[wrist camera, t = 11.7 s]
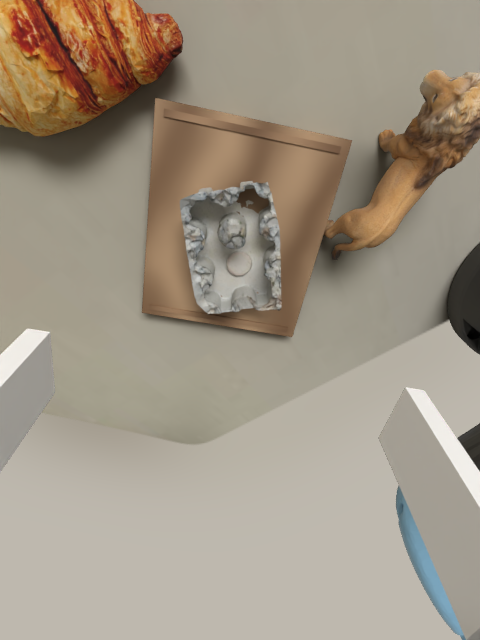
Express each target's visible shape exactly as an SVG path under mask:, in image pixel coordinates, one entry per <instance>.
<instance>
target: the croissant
mask: <svg viewBox="0 0 480 640" xmlns="http://www.w3.org/2000/svg"><path fill="white" fill-rule="evenodd" d="M182 43H183V37H182V34H181V31H180V30H179V27H178V24H177V23H176V22H175V21H174V19H173V18H172V17H171V16H170V15H169V14H150V13H146V14H144V12H143V10H142V8H141V7H140V6H139V5H138V4H137V3H136V2H135V1H134V0H0V125H4V126H5V127H14V128H17V129H19V130H20V131H22V132H30V133H31V134H33V135H34V136H42V137H44V136H49V135H53V134H56V133H59V132H62V131H65V130H68V129H72V128H75V127H78V126H81V125H83V124H85V123H87V122H88V121H90V120H92V119H94V118H96V117H97V116H99V115H100V114H101V113H103V112H104V111H106V110H107V109H109V108H110V107H112V106H114V105H116V104H118V103H120V102H122V101H123V100H124V99H125V98H127V97H128V96H129V95H130V94H132V93H133V92H134V91H135V90H137V89H138V88H139V87H140V86H141V84H143V85H144V84H148V83H152V82H153V81H155V80H157V79H158V78H159V77H160V75H161V74H162V73H163V71H164V70H165V69H166V67H167V66H168V65H169V63H170V62H171V61H172V60H173V58H175V57H176V56H177V55H179V54H180V53H181V52H182Z"/></svg>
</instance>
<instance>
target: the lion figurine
mask: <svg viewBox="0 0 480 640" xmlns="http://www.w3.org/2000/svg"><path fill="white" fill-rule="evenodd" d="M420 92H421V94H422V95H423V97H424V99H425V103H424V104H423V105H422V108H421V110H420V112H419V114H418V116H417V117H416V118H414V119H413V120H412V122H411V123H410V125H409V126H408V128H407V129H406V131H405V133H404V134H400V135H397V136H395V134H394V133H393V131H392V130H385V131H383V132H382V133H380V134H379V144H380V147H381V148H382V149H383V150H384V152H390V153H391V155H392V158H393V159H395V161H394V162H393V163H392V165H391V166H390V167H389V169H388V170H387V171H386V173H385V174H384V176H383V177H382V179H381V180H380V182H379V184H378V185H377V187H376V189H375V191H374V193H373V196H372V199H371V201H370V203H369V204H368V205H367V206H366V207H364V208H360V209H354V210H352V211H349V212H347V213H345V214H344V215H342V216H341V217H340V218H339V219H338V220H337V221H336V222H335V223H334V221H333V220H328V221H327V225H326V228H325V231H324V235H325V236H326V237H328V238H330V239H331V238H333V237H334V236H335V235H336V234H339V233H344V234H346V235H347V236H349V237H350V238H352V239H353V240H352V243H340V244H337V245H336V246H335V249H334V250H333V251H332V259H333V260H337V259H338V257H339V254H340V253H341V250H344V251H353V250H359V249H362V248H364V247H367V248H371V247H376V246H378V245H380V244H381V243H383V242H384V241H385V240H387V239H388V238H389V237H390V236H392V234H393V233H394V232H395V231H396V229H397V228H398V226H399V224H400V222H401V221H402V219H403V217H404V216H405V215H406V214H407V213H408V211H409V210H410V209H411V208H412V207H413V205H414V204H415V203H416V202H417V201H418V200H419V199H420V197H421V196H422V195H423V194H424V192H425V191H426V190H427V189H428V187H429V186H430V185H431V184H432V182H433V181H434V180H435V179H436V177H437V176H439V175H440V174H441V173H442V172H444V171H445V170H446V169H447V168H453V167H454V166H455V165H456V164H457V163H459V162H461V161H462V160H463V157H466V155H467V154H468V152H469V150H470V149H472V147H473V145H474V144H475V143H477V142H478V140H479V139H480V73H470V72H466V73H465V74H464V75H462V76H460V77H455V78H450V77H448V76H447V75H446V74H445V73H444V72H443V71H441V70H432V71H431V72H429V73H428V74H427V75H426V76H425V77H424V80H423V82H422V84H421V85H420Z"/></svg>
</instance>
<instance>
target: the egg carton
mask: <svg viewBox="0 0 480 640" xmlns="http://www.w3.org/2000/svg"><path fill="white" fill-rule="evenodd" d="M251 188H255V190H256V193H257V194H258V195H259V196H260V197H262V198H265V199H266V198H267V199H268V201H269V206H268V207H266V208H264V209H262V210H261V211H260V212H259V213H256V212H255V211H254V210H252V209H248V208H245V207H243V208H241V205H240V203H238V202H236V201H237V199H238V197H239V194H240V192H244V191H245V189H251ZM253 203H254V202H252V201H250V200H248V201H246V204H247V206H248V204H253ZM180 211H181V219H182V223H183V229H184V237H185V242H186V252H187V257H188V261H189V268H190V273H191V279H192V286H193V291H194V296H195V299H196V302H197V304H198V305H199V306H200V307H201V308H202V309H203V310H204V311H205V312H206V313H208V314H213V313H215V314H221V313H223V312H239V311H241V309H249V308H254V309H256V310H261V311H263V310H275V309H277V310H278V311H280V310H281V304H282V302H281V255H280V229H279V224H278V220H277V215H276V211H275V207H274V203H273V198H272V193H271V192H270V188H269V185H268V182H266V183H257V182H256V183H253V182H252V181H247V182H241V183H240V188H239V187H230V188H227V189H225V190H216V191H213V190H212V188H210V187H209V188H202V189H199V192H198V193H196V194H193V195H190V196H187V197H185V198H183V199H181V200H180ZM237 211H238V212H240V214H239V213H237ZM257 292H258V294H257ZM221 296H223V297H221Z"/></svg>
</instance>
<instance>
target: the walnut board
mask: <svg viewBox="0 0 480 640" xmlns="http://www.w3.org/2000/svg"><path fill="white" fill-rule="evenodd" d="M351 143H352V140H347V139H343V138H338V137H333V136H329V135H324V134H320V133H315V132H310V131H306V130H301V129H297V128H292V127H287V126H283V125H278V124H274V123H269V122H264V121H260V120H255V119H251V118H246V117H241V116H237V115H232V114H228V113H223V112H218V111H214V110H209V109H205V108H200V107H196V106H191V105H186V104H182V103H177V102H173V101H168V100H163V99H159V98H155V111H154V127H153V143H152V160H151V176H150V192H149V208H148V224H147V240H146V256H145V272H144V289H143V305H142V313H148V314H154V315H160V316H166V317H172V318H178V319H185V320H191V321H197V322H203V323H209V324H215V325H221V326H228V327H234V328H240V329H246V330H252V331H258V332H264V333H270V334H277V335H283V336H289V337H292V336H293V332H294V329H295V326H296V323H297V319H298V316H299V313H300V309H301V306H302V303H303V300H304V296H305V293H306V290H307V287H308V283H309V280H310V277H311V274H312V270H313V267H314V264H315V260H316V257H317V254H318V251H319V247H320V244H321V241H322V238H323V234H324V231H325V228H326V225H327V221H328V218H329V215H330V211H331V208H332V205H333V202H334V198H335V195H336V192H337V189H338V185H339V182H340V179H341V175H342V172H343V169H344V166H345V162H346V159H347V156H348V153H349V149H350V146H351ZM247 181H252V182H253V183H256V182H257V183H266V182H268V185H269V188H270V192H271V193H272V198H273V203H274V207H275V211H276V215H277V220H278V224H279V229H280V255H281V302H282V304H281V310H280V311H278V310H277V309H275V310H263V311H261V310H256V309H254V308H249V309H241V311H239V312H223V313H221V314H215V313H213V314H208V313H206V312H205V311H204V310H203V309H202V308H201V307H200V306H199V305H198V304H197V302H196V299H195V296H194V291H193V286H192V279H191V273H190V268H189V261H188V257H187V252H186V242H185V237H184V229H183V223H182V219H181V211H180V200H181V199H183V198H185V197H187V196H190V195H193V194H196V193H198V192H199V189H202V188H209V187H210V188H212V190H213V191H216V190H225V189H227V188H230V187H239V188H240V183H241V182H247ZM248 200H250V201H252V202H254V203H253V204H248V206H247V204H246V201H248ZM236 202H238V203H240V205H241V208H243V207H245V208H248V209H252V210H254V211H255V212H256V213H259V212H260V211H261V210H262V209H264V208H266V207H268V206H269V201H268V199H267V198H266V199H265V198H262V197H260V196H259V195H258V194H257V193H256V190H255V188H251V189H245V191H244V192H240V194H239V197H238V199H237V201H236ZM237 213H239V214H240V212H238V211H237ZM257 294H258V292H257ZM221 297H223V296H221Z"/></svg>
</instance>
